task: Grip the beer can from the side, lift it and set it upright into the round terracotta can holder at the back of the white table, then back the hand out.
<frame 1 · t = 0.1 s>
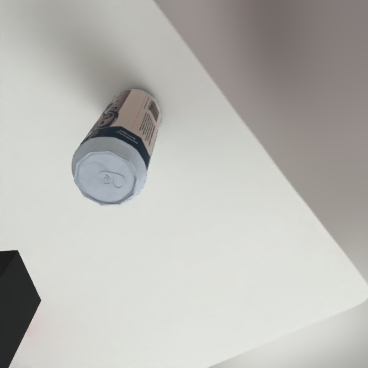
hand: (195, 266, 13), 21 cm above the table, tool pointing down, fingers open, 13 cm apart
beer can: (136, 112, 32), on the table
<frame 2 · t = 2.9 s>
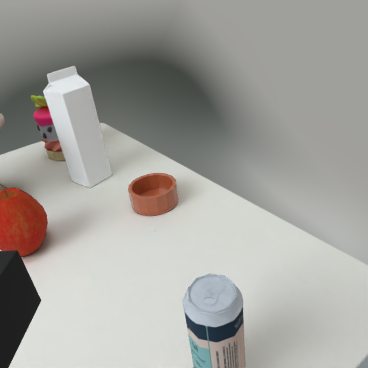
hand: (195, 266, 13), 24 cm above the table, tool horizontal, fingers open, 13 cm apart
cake: (69, 152, 86), on the table
apple: (29, 248, 55), on the table
holder: (155, 202, 62), on the table
milk: (92, 179, 72), on the table
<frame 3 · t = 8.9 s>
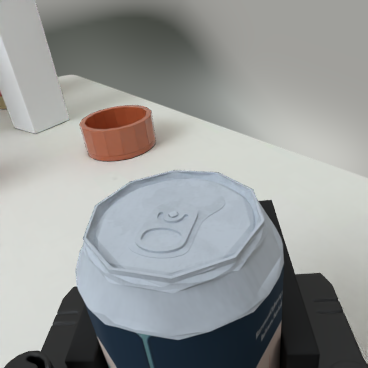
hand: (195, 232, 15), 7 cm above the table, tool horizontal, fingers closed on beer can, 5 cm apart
holder: (122, 145, 42), on the table
milk: (42, 125, 53), on the table
when the fingers open (8 cm above the table, at t = 18.1 s): beer can stays where it is, resting on holder.
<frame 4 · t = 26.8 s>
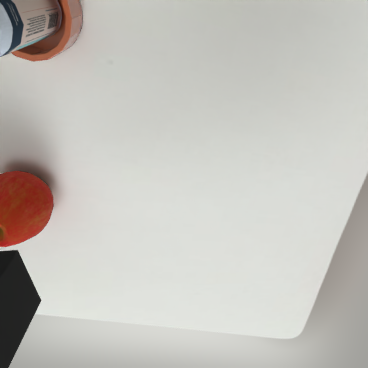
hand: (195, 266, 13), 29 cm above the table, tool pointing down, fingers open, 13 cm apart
beer can: (40, 11, 35), resting on holder
apple: (32, 186, 46), on the table
holder: (41, 10, 35), on the table
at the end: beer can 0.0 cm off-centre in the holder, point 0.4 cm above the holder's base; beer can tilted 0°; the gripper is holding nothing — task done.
